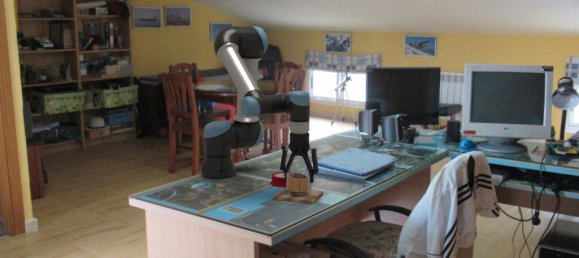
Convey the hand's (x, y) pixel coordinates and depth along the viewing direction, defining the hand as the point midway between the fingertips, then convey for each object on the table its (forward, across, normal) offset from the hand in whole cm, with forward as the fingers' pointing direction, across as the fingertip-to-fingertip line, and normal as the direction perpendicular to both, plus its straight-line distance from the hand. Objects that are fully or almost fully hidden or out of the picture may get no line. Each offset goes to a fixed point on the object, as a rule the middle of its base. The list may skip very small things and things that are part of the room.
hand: (299, 189), depth 224 cm
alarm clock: (+3, -12, +16) cm, 20 cm away
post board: (+3, 0, 0) cm, 3 cm away
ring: (0, 0, 0) cm, 0 cm away
